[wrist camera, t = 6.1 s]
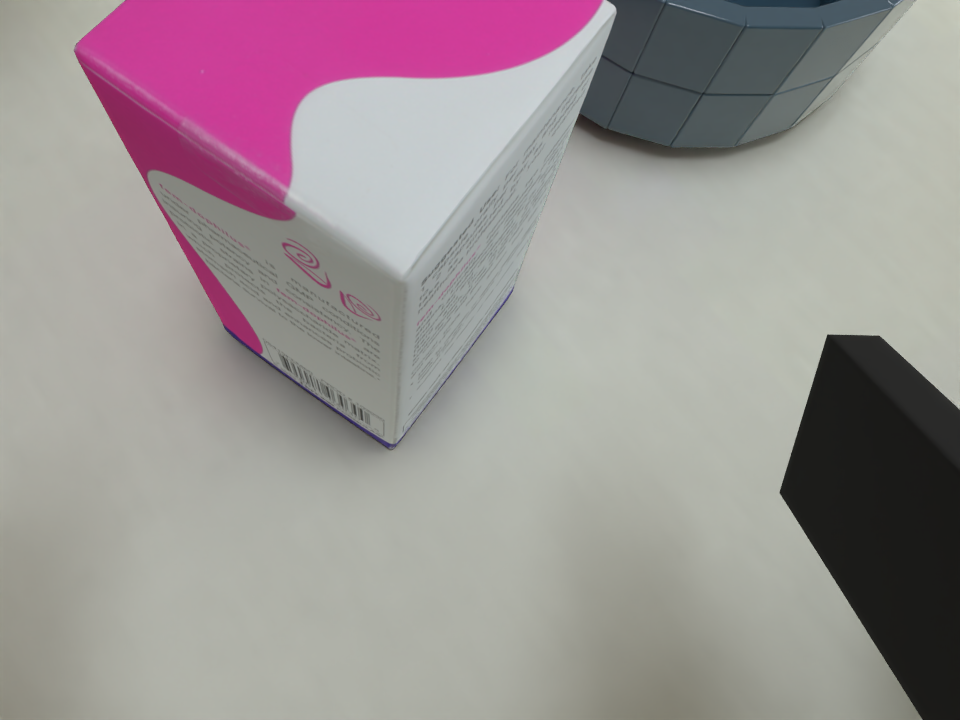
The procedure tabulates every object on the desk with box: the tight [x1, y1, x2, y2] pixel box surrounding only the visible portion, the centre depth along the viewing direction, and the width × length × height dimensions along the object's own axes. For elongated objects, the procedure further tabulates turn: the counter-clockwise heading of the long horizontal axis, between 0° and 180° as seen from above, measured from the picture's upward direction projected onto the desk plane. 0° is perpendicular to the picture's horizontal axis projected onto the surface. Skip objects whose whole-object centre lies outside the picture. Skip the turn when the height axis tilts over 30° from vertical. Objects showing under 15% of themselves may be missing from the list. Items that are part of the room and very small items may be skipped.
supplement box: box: [74, 0, 617, 449], centre depth 17 cm, size 6×6×12 cm
